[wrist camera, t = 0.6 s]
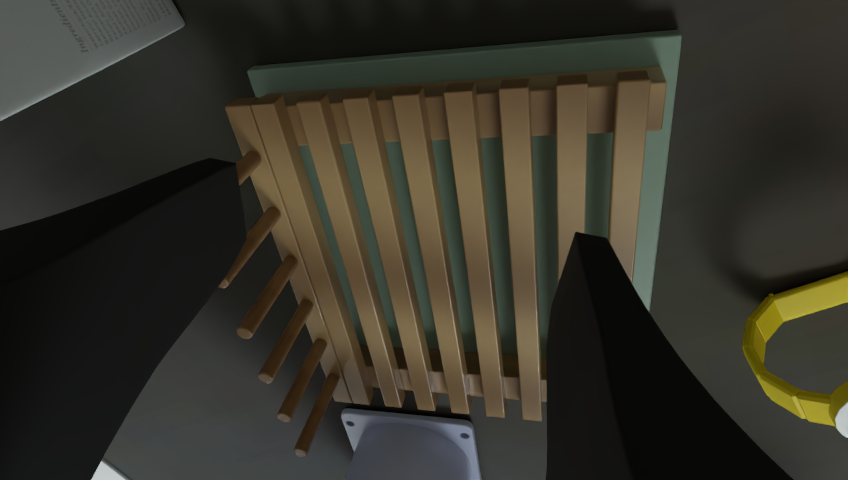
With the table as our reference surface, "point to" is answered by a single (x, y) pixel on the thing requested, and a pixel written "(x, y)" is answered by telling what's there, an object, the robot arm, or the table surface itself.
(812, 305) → the watch
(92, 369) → the robot arm
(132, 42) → the small box
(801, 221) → the table surface
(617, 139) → the dish rack
